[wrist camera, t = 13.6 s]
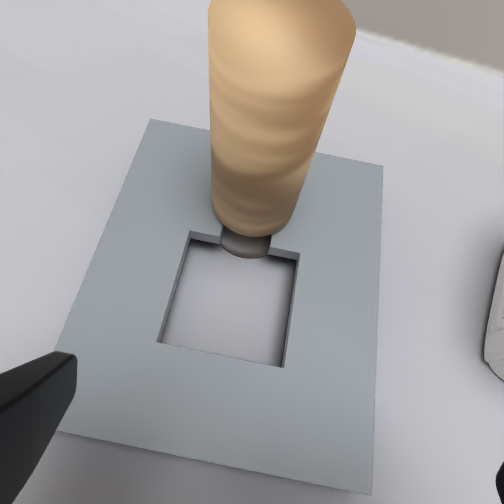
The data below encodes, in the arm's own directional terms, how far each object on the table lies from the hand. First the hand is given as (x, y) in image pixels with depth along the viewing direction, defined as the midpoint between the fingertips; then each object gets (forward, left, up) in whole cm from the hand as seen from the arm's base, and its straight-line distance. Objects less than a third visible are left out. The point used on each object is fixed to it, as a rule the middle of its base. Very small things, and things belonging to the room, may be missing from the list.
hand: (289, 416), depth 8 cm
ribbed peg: (+10, +7, -14) cm, 18 cm away
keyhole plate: (+6, +5, -14) cm, 16 cm away
